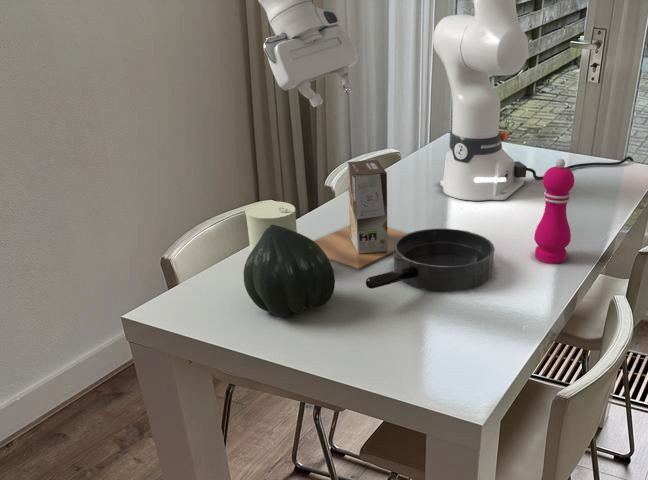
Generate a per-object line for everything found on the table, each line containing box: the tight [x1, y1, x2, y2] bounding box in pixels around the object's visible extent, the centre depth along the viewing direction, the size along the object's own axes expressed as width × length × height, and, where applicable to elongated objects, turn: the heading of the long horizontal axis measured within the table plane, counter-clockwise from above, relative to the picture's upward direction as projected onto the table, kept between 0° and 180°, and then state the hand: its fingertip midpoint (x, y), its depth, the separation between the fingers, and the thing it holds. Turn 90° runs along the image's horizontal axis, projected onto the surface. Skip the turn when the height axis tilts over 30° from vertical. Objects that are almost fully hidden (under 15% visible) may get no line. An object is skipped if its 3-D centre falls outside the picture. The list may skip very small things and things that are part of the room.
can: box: [244, 200, 298, 253], centre depth 144 cm, size 9×9×12 cm
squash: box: [243, 224, 336, 317], centre depth 131 cm, size 14×15×15 cm
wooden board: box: [313, 225, 407, 271], centre depth 159 cm, size 20×16×1 cm
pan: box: [393, 228, 496, 292], centre depth 147 cm, size 19×19×5 cm
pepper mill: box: [533, 158, 575, 265], centre depth 150 cm, size 7×7×20 cm
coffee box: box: [346, 159, 388, 254], centre depth 153 cm, size 9×6×16 cm
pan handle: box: [365, 266, 418, 290], centre depth 136 cm, size 14×2×4 cm, turn 145°
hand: (334, 99), depth 148 cm, fingers open, 8 cm apart
